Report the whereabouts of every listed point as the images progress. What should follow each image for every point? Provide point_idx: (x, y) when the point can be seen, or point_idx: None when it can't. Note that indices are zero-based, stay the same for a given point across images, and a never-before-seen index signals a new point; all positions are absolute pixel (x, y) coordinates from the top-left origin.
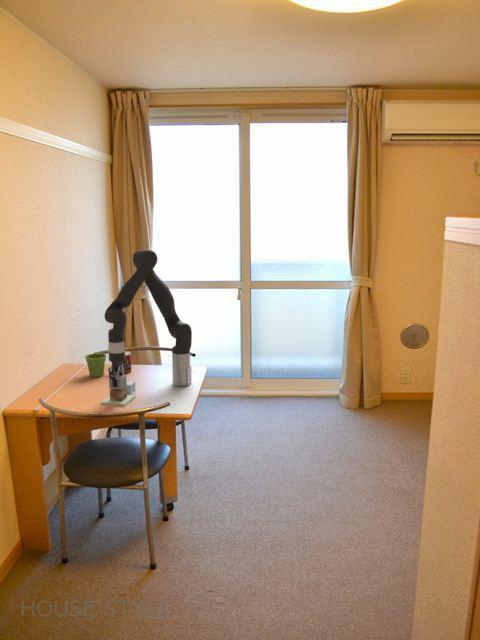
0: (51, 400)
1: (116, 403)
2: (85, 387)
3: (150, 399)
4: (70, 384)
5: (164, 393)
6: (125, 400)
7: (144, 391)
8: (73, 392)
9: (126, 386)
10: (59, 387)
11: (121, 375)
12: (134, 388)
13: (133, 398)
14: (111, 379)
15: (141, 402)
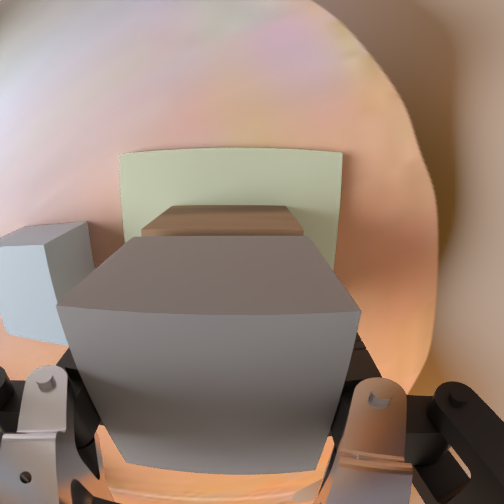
0: (296, 486)
1: (337, 228)
2: (121, 456)
3: (142, 28)
4: (127, 485)
5: (33, 25)
6: (254, 182)
7: (16, 160)
8: (191, 473)
9: (58, 277)
10: (168, 499)
11: (92, 390)
12: (20, 231)
13: (163, 150)
14: (319, 442)
15: (220, 57)
